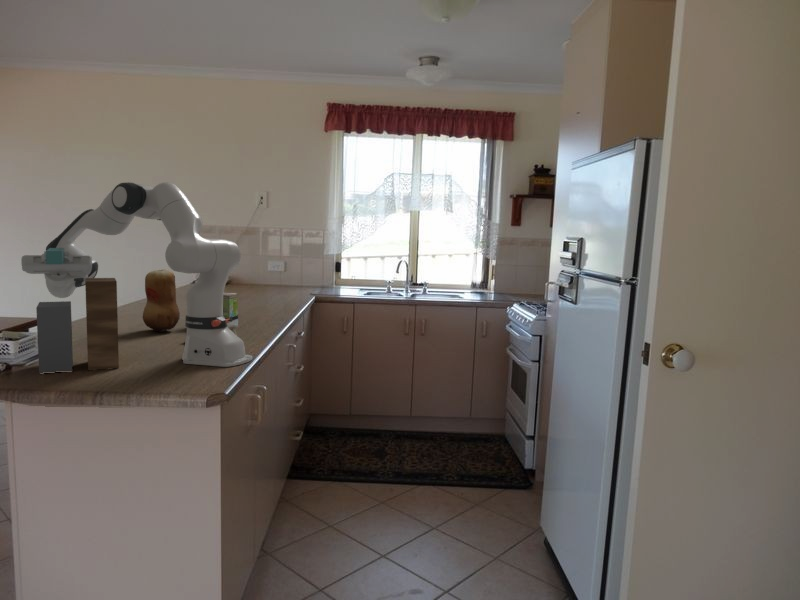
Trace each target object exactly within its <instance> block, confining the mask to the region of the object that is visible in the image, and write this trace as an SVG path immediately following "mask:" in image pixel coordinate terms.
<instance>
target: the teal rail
mask: <svg viewBox="0 0 800 600" xmlns="http://www.w3.org/2000/svg"><path fill="white" fill-rule="evenodd" d="M45 251H46V264H63V262H64V260H65V258H64V248H49V249H48V250H46V249H45Z"/></svg>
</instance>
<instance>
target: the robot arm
mask: <svg viewBox="0 0 800 600" xmlns="http://www.w3.org/2000/svg"><path fill="white" fill-rule="evenodd" d="M193 205H194V204H192V202H191V200H190V199H189V198H188V197H187V195H186V194H185V193H184V192H183V191H182V190H181V189H180V188H179V187H178V186H177V185H176V184H174V183H173V182H168V181H166V182H164V181H163V182H161V183H158V184H155V186H150V185H145V184H139V183H134V182H120V183H118V184H117V185H115V187H114V188H113V189H112V190H111V191H110V192H109V193H108V194H107V195H106V196H105V198H103V200H102V202H101V203H100V204H99V206H98V207H97V208H95V209H92V208H89V209H87V210H84V211H83V212H82V213H80V214H79V215H78V216H77V217H75V218H74V220H72V221H71V222H70V224H69V225H67V227H66V228H64V230H63V231H62V232H61V233H59V235H57V237H55V238H54V239H53V240H51V241H50V242H49V243H48V244H47V245H46V247H45V250H44V251H43V253H42V254H40V255H39V254H37V255H36V254H34V255H32V254H31V255H30V254H24V255H22V256H21V263H20V264H21V270H22V271H23V272H25V273H27V274H30V275H35V274H36V275H44V279H45V285H46V288H47V290H48V292H49V294H50V295H51V296H53V297H55V298H59V299H65V298H68V297H70V296H72V294H73V293H74V292H75V290H76V289H78V288H80V287H84V286H85V278H96V276H97V274H98V271H99V264H98V263H99V262H97V261H96V259H94V258H93V257H92V256H91V255H90V254H88V253H87V252H85V251H84V250H83V249H82V248H80V247H79V246H78V245H77V243H76V241H75V240H77V239H78V237H79V236H80V235H82V233H83V232H85V230H89V231H93V232H96V233H99V234H101V235H106V236H118V235H120V234H122V233H124V232H125V230H127V229H128V227H129V226H130V225H131V223H132V221H133V220H134V218H135V217H137V218H140V219H146V220H157V221H161V222H162V224H163V226H164V228H165V229H166V231H167V232H168V234H169V237H170V243H169V244H168V246H166V249H165V253H164V254H165V257H164V258H165V261H166V263H167V265H168V268H170V269H171V270H172V272H173V271H174V272H178V273H182V274H199V276H198V278H197V280H196V282H195V283H194V284H193V285H192V286H190V287H189V289H188V290H187V291H186V292H187V293H186V315H185V320H184V323H185V325H184V326H185V327H186V328H185V329H186V334H185V342H184V343H185V344H184V349H183V354H182V356H181V360H183V361H182V363H183V364H184V365H185V364H187V365H197V366H198V365H199V366H211V367H220V368H221V367H222V368H229V367H234V366H239V365H243V364H245V363H248V362H250V361H252V360H253V355H250V354H246V347H245V342H244V341H243V340H242V338H240V337H239V336H238V334H237V335H235V334H234V333H233V332H232V331H231V330H230V329H229V328H228V327H227V326H228V325H227V322H230V321H228V320H229V319H230V318H229V319H225V317H224V315H223V293H225V287H226V284H227V281H228V279H229V276H230V274H232V273H233V271H234V270H235V268H237V267H238V265H240V261H241V250H240V247H239V246H238V244H237V243H236V242H234V241H231V240H229V239H225V238H212V237H211V238H205V237H203V236H201V235H200V234H199V233H200V232H201V231H202V228H203V219H202V218H201V215H200V214H199V212H197V210H196V208H195V207H194V206H193ZM49 248H64V258H65V260H64V262H63V264H46V250H48V249H49Z"/></svg>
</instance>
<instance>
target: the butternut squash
mask: <svg viewBox="0 0 800 600" xmlns="http://www.w3.org/2000/svg"><path fill="white" fill-rule="evenodd" d="M176 287H177V286H176V276H175V274H174V272H173V270H172V271H171V270H170V269H166V268H165V269H156V270H151V271H150V272H148V273H147V274H146V275H145V278H144V292H145V296H146V304H145V306H144V308H143V311H142V320H143V322H144V325H145V326H146V327H147V328H150V329H151V330H153V331H154V332H162V333H163V332H166V331H168V330H172V329H174V328H175V327H176V326H177V324H178V323H179V321H180V319H181V318H180V316H181V314H180V308H179V306H178V304H177V303H178V302H177V293H176V292H177V290H176V289H177V288H176Z"/></svg>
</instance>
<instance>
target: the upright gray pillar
mask: <svg viewBox="0 0 800 600" xmlns="http://www.w3.org/2000/svg"><path fill="white" fill-rule="evenodd" d="M35 310H36V326H37V327H36V329H37V330H36V331H37V350H38V351H37V353H38V356H37V357H38V374H39V373H43V372H56V371H72V372H73V369H72V367H74V353H73V328H72V327H73V324H72V320H73V319H72V302H71V301H70V300H69V301H67V300H66V301H64V300H63V301H39V302H38V303H37V305H36V309H35Z"/></svg>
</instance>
